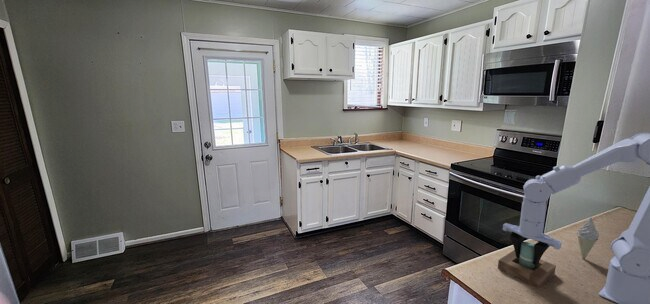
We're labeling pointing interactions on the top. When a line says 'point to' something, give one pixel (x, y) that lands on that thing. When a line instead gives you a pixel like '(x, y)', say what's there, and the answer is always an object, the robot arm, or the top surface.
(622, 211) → the top surface
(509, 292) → the top surface
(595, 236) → the ice cream cone
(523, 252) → the peg
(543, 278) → the stand
